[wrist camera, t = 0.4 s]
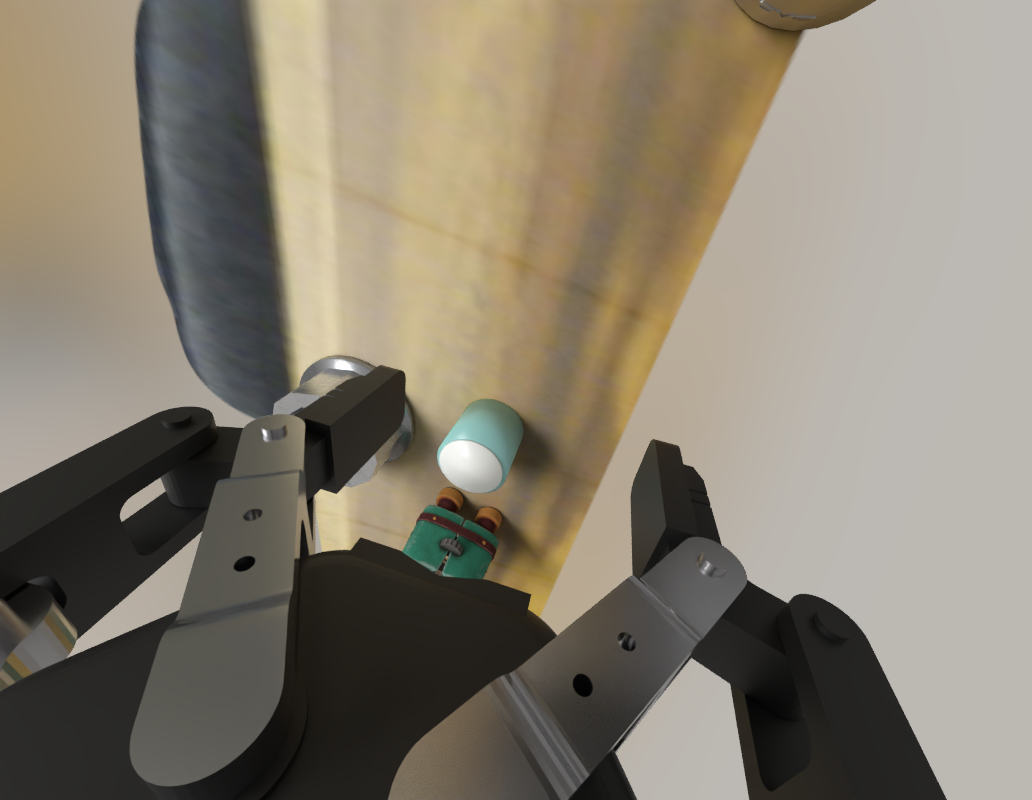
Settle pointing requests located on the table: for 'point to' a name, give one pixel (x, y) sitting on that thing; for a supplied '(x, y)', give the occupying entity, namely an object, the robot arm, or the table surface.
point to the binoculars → (454, 538)
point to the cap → (481, 446)
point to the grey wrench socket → (328, 377)
